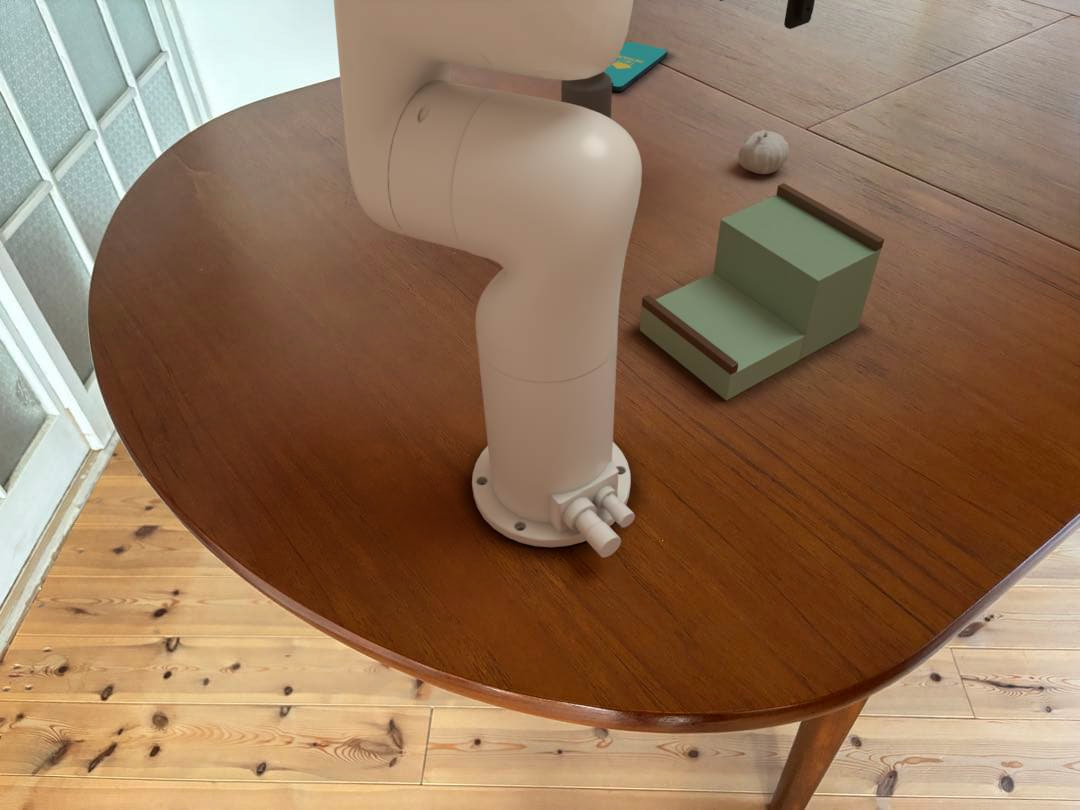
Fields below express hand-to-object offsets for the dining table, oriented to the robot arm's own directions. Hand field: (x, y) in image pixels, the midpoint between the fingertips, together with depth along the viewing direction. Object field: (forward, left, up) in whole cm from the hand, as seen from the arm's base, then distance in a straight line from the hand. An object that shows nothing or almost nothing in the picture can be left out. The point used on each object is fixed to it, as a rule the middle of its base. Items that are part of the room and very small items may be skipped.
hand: (761, 10), depth 89 cm
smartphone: (+33, -9, -19) cm, 39 cm away
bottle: (+14, +12, -20) cm, 27 cm away
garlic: (0, -4, -20) cm, 20 cm away
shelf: (-21, +18, -19) cm, 34 cm away
